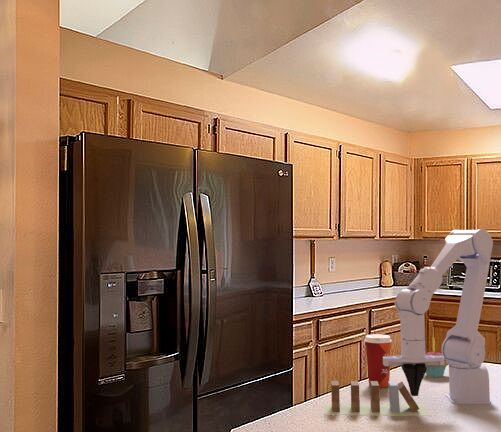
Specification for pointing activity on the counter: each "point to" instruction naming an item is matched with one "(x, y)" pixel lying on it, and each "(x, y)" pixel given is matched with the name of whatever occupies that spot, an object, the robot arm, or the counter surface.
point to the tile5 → (335, 396)
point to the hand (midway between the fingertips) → (414, 395)
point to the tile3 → (375, 396)
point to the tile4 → (355, 396)
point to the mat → (384, 410)
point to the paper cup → (378, 358)
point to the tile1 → (407, 397)
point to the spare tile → (394, 396)
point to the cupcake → (435, 369)
